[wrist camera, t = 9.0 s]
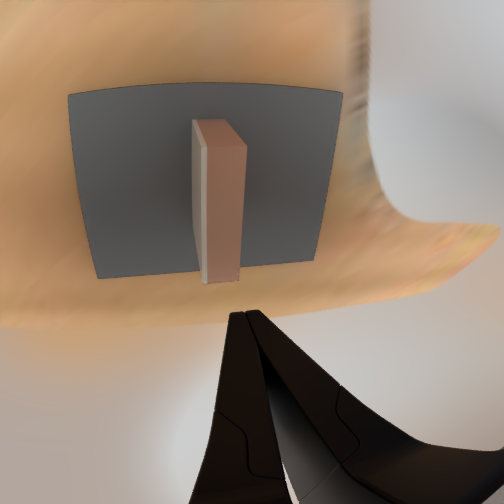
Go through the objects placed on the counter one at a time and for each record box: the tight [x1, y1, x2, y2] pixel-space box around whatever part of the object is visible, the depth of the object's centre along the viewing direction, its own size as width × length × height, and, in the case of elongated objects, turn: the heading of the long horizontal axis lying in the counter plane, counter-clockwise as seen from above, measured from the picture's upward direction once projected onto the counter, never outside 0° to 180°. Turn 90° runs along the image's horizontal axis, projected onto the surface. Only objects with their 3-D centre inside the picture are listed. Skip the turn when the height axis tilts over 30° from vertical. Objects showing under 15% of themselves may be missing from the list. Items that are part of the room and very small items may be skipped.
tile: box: [192, 119, 247, 284], centre depth 14 cm, size 2×6×5 cm, turn 176°
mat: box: [68, 82, 343, 279], centre depth 17 cm, size 14×11×1 cm
